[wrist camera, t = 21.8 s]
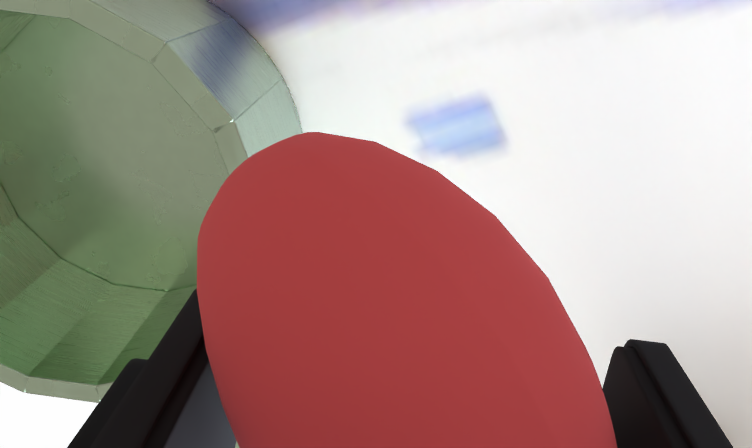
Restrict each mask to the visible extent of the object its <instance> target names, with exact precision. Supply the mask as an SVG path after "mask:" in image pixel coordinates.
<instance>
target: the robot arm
mask: <svg viewBox="0 0 752 448" xmlns="http://www.w3.org/2000/svg"><path fill="white" fill-rule="evenodd" d="M602 390H603V393H604V396H605V399H606V402H607V406H608V409H609V413H610V416H611V420H612V424H613V429H614V433H615V438H616V443H617V448H733V446H732V445H731V443H730V442H729V440H728V439H727V437H726V436H725V434H724V432H723V431H722V429H721V428H720V426H719V425H718V423H717V422H716V420H715V418H714V417H713V415H712V414H711V412H710V411H709V409H708V408H707V406H706V404H705V403H704V401H703V400H702V398H701V397H700V395H699V394H698V392H697V391H696V389H695V387H694V386H693V384H692V383H691V381H690V380H689V378H688V377H687V375H686V373H685V372H684V370H683V369H682V367H681V366H680V364H679V363H678V361H677V359H676V358H675V356H674V355H673V353H672V352H671V350H670V349H669V347H668V346H667V345H666V344H664V343H658V342H650V341H641V340H633V339H630V340H628V341H627V343H626V344H625V346H624V347H620V346H618V347H616V348H615V349H614V351H613V354H612V357H611V361H610V364H609V368H608V371H607V375H606V378H605V382H604V385H603V389H602ZM236 441H237V440H236V438H235V436H234V433H233V431H232V428H231V426H230V423H229V421H228V418H227V416H226V413H225V411H224V408H223V406H222V403H221V399H220V396H219V393H218V389H217V386H216V382H215V379H214V376H213V372H212V369H211V365H210V362H209V359H208V355H207V352H206V347H205V341H204V335H203V328H202V322H201V315H200V309H199V302H198V296H197V288H196V289H195V290H194V291H193V293H192V294H191V296H190V297H189V299H188V300H187V302H186V303H185V305H184V306H183V308H182V309H181V311H180V312H179V314H178V315H177V317H176V318H175V320H174V321H173V323H172V324H171V326H170V327H169V329H168V330H167V332H166V333H165V335H164V336H163V338H162V339H161V341H160V342H159V344H158V345H157V347H156V348H155V350H154V351H153V353H152V354H151V356H150V357H149V359H148V360H147V359H139V358H134V359H132V360H130V361H129V362H128V363H127V364H126V366H125V367H124V368H123V370H122V371H121V373H120V374H119V375H118V377H117V378H116V380H115V381H114V382H113V384H112V385H111V387H110V388H109V390H108V391H107V392H106V394H105V395H104V397H103V398H102V399H101V401H100V402H99V404H98V405H97V406H96V408H95V409H94V411H93V412H92V413H91V415H90V416H89V418H88V419H87V421H86V422H85V423H84V425H83V426H82V428H81V429H80V430H79V432H78V433H77V435H76V436H75V437H74V439H73V440H72V442H71V443H70V444H69V446H68V447H67V448H235V445H236Z"/></svg>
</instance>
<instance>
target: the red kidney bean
mask: <svg viewBox="0 0 752 448" xmlns="http://www.w3.org/2000/svg"><path fill="white" fill-rule="evenodd" d="M197 296H198V302H199V309H200V315H201V322H202V328H203V335H204V341H205V347H206V352H207V355H208V359H209V362H210V365H211V369H212V372H213V376H214V379H215V382H216V386H217V389H218V393H219V396H220V399H221V403H222V406H223V408H224V411H225V413H226V416H227V418H228V421H229V423H230V426H231V428H232V431H233V433H234V436H235V438H236V440H237V443H238V445H239V448H617V443H616V438H615V433H614V429H613V424H612V420H611V416H610V413H609V409H608V406H607V402H606V399H605V396H604V393H603V390H602V387H601V384H600V381H599V378H598V375H597V373H596V370H595V368H594V365H593V362H592V360H591V358H590V356H589V354H588V352H587V350H586V347H585V345H584V344H583V342H582V340H581V338H580V336H579V334H578V333H577V331H576V329H575V327H574V325H573V323H572V321H571V320H570V318H569V316H568V314H567V312H566V310H565V309H564V307H563V305H562V303H561V301H560V299H559V297H558V296H557V294H556V292H555V290H554V288H553V286H552V285H551V283H550V281H549V279H548V277H547V276H546V275H545V274H544V273H543V271H542V270H541V269H540V268H539V267H538V265H537V264H536V263H535V262H534V261H533V260H532V258H531V257H530V256H529V255H528V254H527V253H526V251H525V250H524V249H523V248H522V247H521V246H520V244H519V243H518V242H517V241H516V240H515V239H514V237H513V236H512V235H511V234H510V233H509V231H508V230H507V229H506V228H505V227H504V226H503V224H502V223H501V222H500V221H499V220H498V219H497V217H496V216H495V215H493V214H492V213H491V212H489V211H488V210H487V209H486V208H484V207H483V206H482V205H480V204H479V203H478V202H477V201H475V200H474V199H473V198H471V197H470V196H469V195H467V194H466V193H465V192H464V191H462V190H461V189H460V188H458V187H457V186H456V185H455V184H453V183H452V182H451V181H449V180H448V179H447V178H445V177H444V176H443V175H442V174H440V173H439V172H438V171H436V170H434V169H432V168H429V167H427V166H425V165H423V164H421V163H419V162H417V161H415V160H413V159H410V158H408V157H406V156H404V155H402V154H400V153H398V152H396V151H394V150H391V149H389V148H387V147H385V146H383V145H381V144H379V143H377V142H373V141H367V140H361V139H356V138H350V137H344V136H338V135H332V134H326V133H320V132H307V133H303V134H298V135H294V136H291V137H289V138H286V139H284V140H281V141H279V142H277V143H275V144H273V145H271V146H269V147H267V148H265V149H263V150H261V151H259V152H257V153H255V154H253V155H252V156H251V157H249V158H248V159H246V160H245V161H244V162H243V163H241V164H240V165H239V166H238V167H237V168H236V169H235V170H234V171H233V172H232V173H231V174H230V175H229V177H228V178H227V179H226V180H225V182H224V183H223V185H222V186H221V187H220V189H219V191H218V193H217V195H216V196H215V198H214V200H213V202H212V203H211V205H210V207H209V209H208V210H207V212H206V215H205V217H204V219H203V222H202V224H201V227H200V231H199V235H198V242H197Z"/></svg>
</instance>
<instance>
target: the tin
mask: <svg viewBox="0 0 752 448" xmlns="http://www.w3.org/2000/svg"><path fill="white" fill-rule="evenodd" d="M298 134H303V133H302V128H301V125H300V121H299V117H298V113H297V110H296V107H295V105H294V102H293V100H292V97H291V95H290V92H289V90H288V87H287V86H286V84H285V82H284V80H283V78H282V77H281V75H280V73H279V71H278V70H277V68H276V66H275V65H274V63H273V62H272V61H271V59H270V58H269V57H268V55H267V54H266V52H265V51H264V50H263V48H262V47H261V46H260V45H259V44H258V43H257V42H256V40H255V39H254V38H253V37H252V36H251V35H250V34H249V33H248V32H247V31H246V30H245V29H244V28H243V27H242V26H241V25H240V24H238V23H237V22H236V21H235V20H234V19H233V18H232V17H230V16H229V15H228V14H227V13H225V12H224V11H222V10H221V9H219V8H218V7H216V6H215V5H213V4H212V3H210V2H209V1H207V0H0V382H2V383H4V384H6V385H9V386H11V387H13V388H15V389H17V390H20V391H22V392H26V393H30V394H38V395H45V396H52V397H60V398H67V399H74V400H81V401H89V402H96V403H99V402H100V401H101V399H102V398H103V397H104V395H105V394H106V392H107V391H108V390H109V388H110V387H111V385H112V384H113V382H114V381H115V380H116V378H117V377H118V375H119V374H120V373H121V371H122V370H123V368H124V367H125V366H126V364H127V363H128V362H129V361H130V360H132V359H134V358H139V359H147V360H148V359H149V357H150V356H151V354H152V353H153V351H154V350H155V348H156V347H157V345H158V344H159V342H160V341H161V339H162V338H163V336H164V335H165V333H166V332H167V330H168V329H169V327H170V326H171V324H172V323H173V321H174V320H175V318H176V317H177V315H178V314H179V312H180V311H181V309H182V308H183V306H184V305H185V303H186V302H187V300H188V299H189V297H190V296H191V294H192V293H193V291H194V290H195V289H196V288H197V242H198V235H199V231H200V227H201V224H202V222H203V219H204V217H205V215H206V212H207V210H208V209H209V207H210V205H211V203H212V202H213V200H214V198H215V196H216V195H217V193H218V191H219V189H220V187H221V186H222V185H223V183H224V182H225V180H226V179H227V178H228V177H229V175H230V174H231V173H232V172H233V171H234V170H235V169H236V168H237V167H238V166H239V165H240V164H241V163H243V162H244V161H245V160H246V159H248V158H249V157H251V156H252V155H253V154H255V153H257V152H259V151H261V150H263V149H265V148H267V147H269V146H271V145H273V144H275V143H277V142H279V141H281V140H284V139H286V138H289V137H291V136H294V135H298Z"/></svg>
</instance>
